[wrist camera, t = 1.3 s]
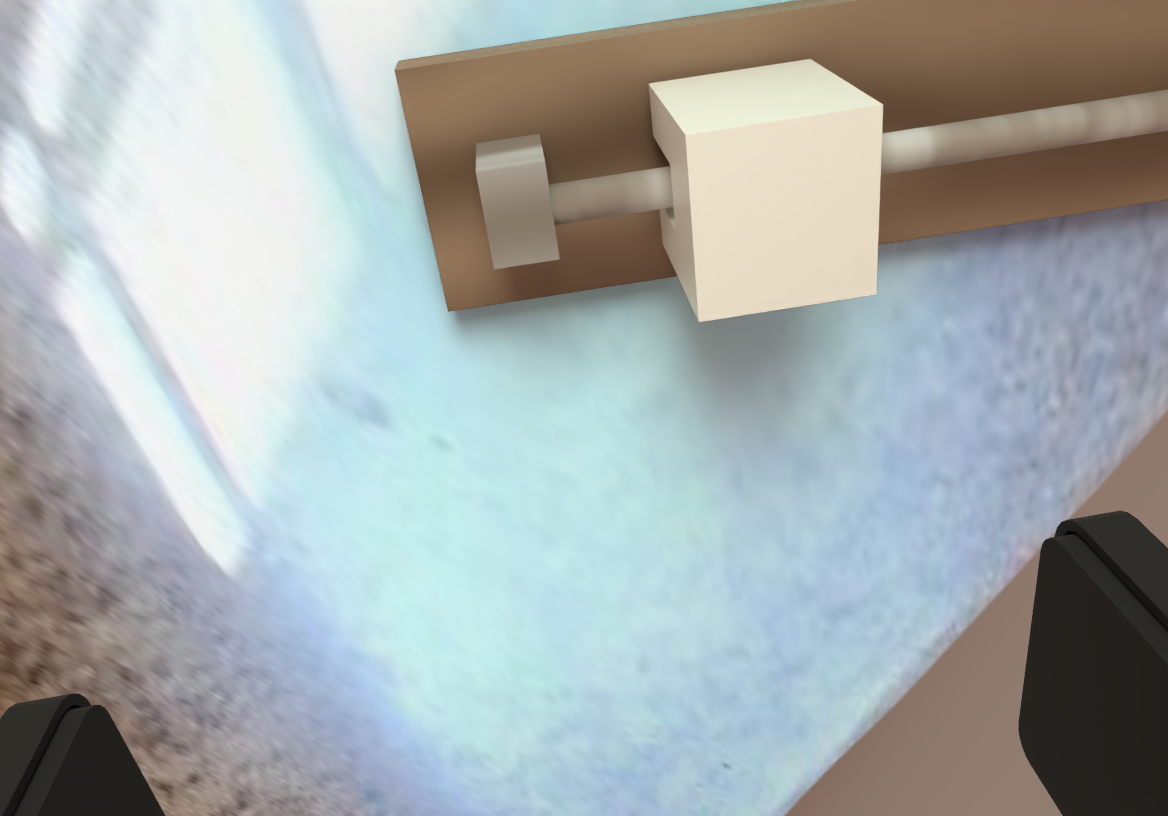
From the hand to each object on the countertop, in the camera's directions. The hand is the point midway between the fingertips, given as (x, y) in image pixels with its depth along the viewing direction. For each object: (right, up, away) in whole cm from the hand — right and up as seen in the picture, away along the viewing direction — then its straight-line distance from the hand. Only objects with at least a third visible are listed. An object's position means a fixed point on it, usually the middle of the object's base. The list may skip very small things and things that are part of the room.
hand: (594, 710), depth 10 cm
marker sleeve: (+5, +11, +20) cm, 24 cm away
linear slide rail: (+14, +14, +22) cm, 30 cm away
